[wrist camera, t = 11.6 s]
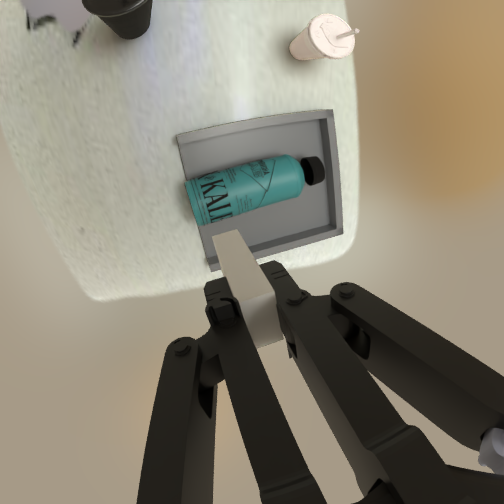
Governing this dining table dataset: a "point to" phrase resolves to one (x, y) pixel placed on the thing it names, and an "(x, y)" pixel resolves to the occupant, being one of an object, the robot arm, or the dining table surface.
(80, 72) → the dining table surface
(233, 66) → the dining table surface
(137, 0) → the drinking cup
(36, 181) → the dining table surface
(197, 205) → the beverage bottle
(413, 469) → the robot arm
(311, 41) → the smoothie
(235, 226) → the charcoal tray
